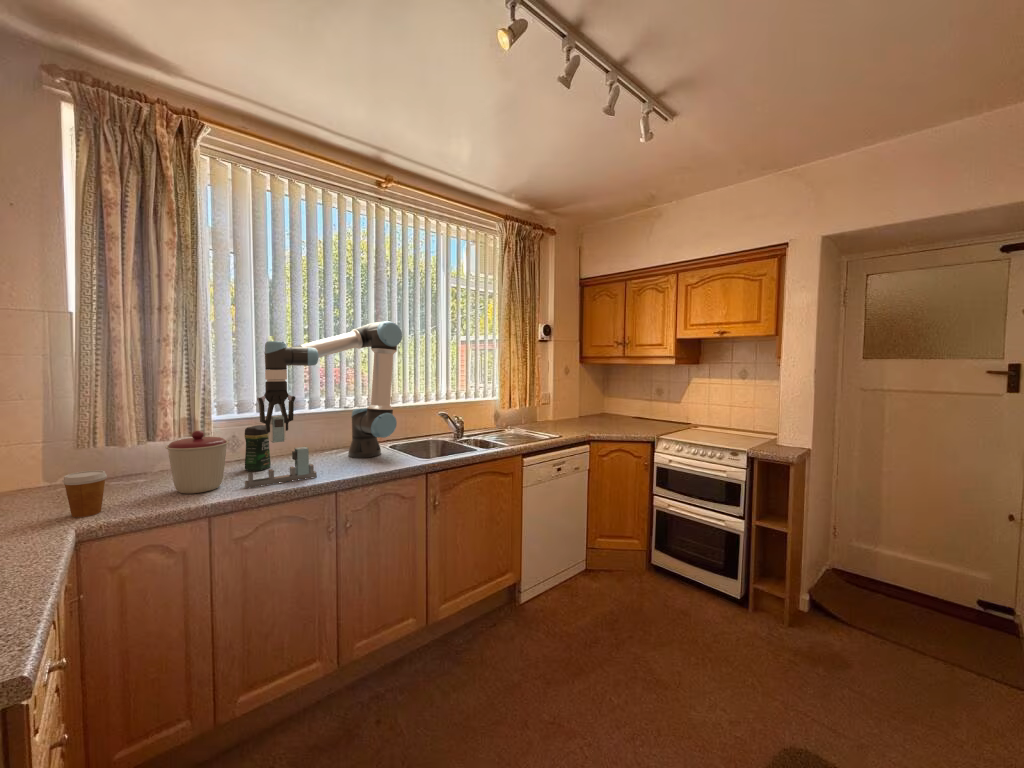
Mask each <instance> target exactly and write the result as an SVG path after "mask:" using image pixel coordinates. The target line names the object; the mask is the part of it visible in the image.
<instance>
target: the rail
mask: <svg viewBox="0 0 1024 768" xmlns="http://www.w3.org/2000/svg"><path fill="white" fill-rule="evenodd" d="M309 450H310V449H309V447H306V446H301V447H300V446H299V447H294V450H292V453H291V457H292V460H294V466H289V474H286V475H279V476H278V475H277V476H275V470H274V469H273V468H272V469H268V477H264V478H263V477H262V478H257V479H254V472H253V471H248V472H247V480H244V488H245V489H250V488H249V487H252V488H256V487H255V486H259V487H262V486H261V485H265V486H268V485H267V484H271V485H274V484H273V483H278V484H280V483H279V482H284V483H287V482H286V481H291V482H293V481H292V480H297V481H299V480H298V479H303V480H306V479H305V478H310V479H312V478H311V477H316V478H317V477H318V474H317V473H318V472H317V471H315V465H314V464H312V463H309V462H310V461H309V459H310V457H309V455H310V454H309V453H310V452H309Z"/></svg>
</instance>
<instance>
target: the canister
mask: <svg viewBox="0 0 1024 768" xmlns="http://www.w3.org/2000/svg"><path fill="white" fill-rule="evenodd" d="M229 443H230V441H229V440H227V439H225V438H223V437H220V436H219V437H218V436H205V432H204V431H203V430H195V431H193V432H192V433H191V437H188V438H182V439H176V440H174V441H172V442H170V443H169V444H168V445H165V449H166V450H167V452H168V458H169V464H170V470H171V476H172V481H173V485H174V488H175V490H176V491H177V492H178V493H181V494H201V493H206V492H211V491H214V490H216V489H218V488H219V487H220V486H221V485H222V483H223V479H224V473H225V465H226V454H227V445H228V444H229Z"/></svg>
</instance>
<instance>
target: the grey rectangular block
mask: <svg viewBox="0 0 1024 768" xmlns="http://www.w3.org/2000/svg"><path fill="white" fill-rule="evenodd" d="M270 424H272V426H273V441H270V442H271V443H283V442H285V440H284V416H282V414H281V415H272V417H271V422H270Z"/></svg>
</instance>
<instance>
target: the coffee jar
mask: <svg viewBox="0 0 1024 768" xmlns="http://www.w3.org/2000/svg"><path fill="white" fill-rule="evenodd" d="M243 435H244V440H245V456H244V457H245V458H244V470H245V471H248V472H256V471H258V472H259V471H263V469H264V470H266V469H269V468H270V467H271V466H272V465H271V452H270V441H269V432H266V424H259V425H258V424H257V425H253V426H248V427H246V428H245V429H244V434H243Z"/></svg>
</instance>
